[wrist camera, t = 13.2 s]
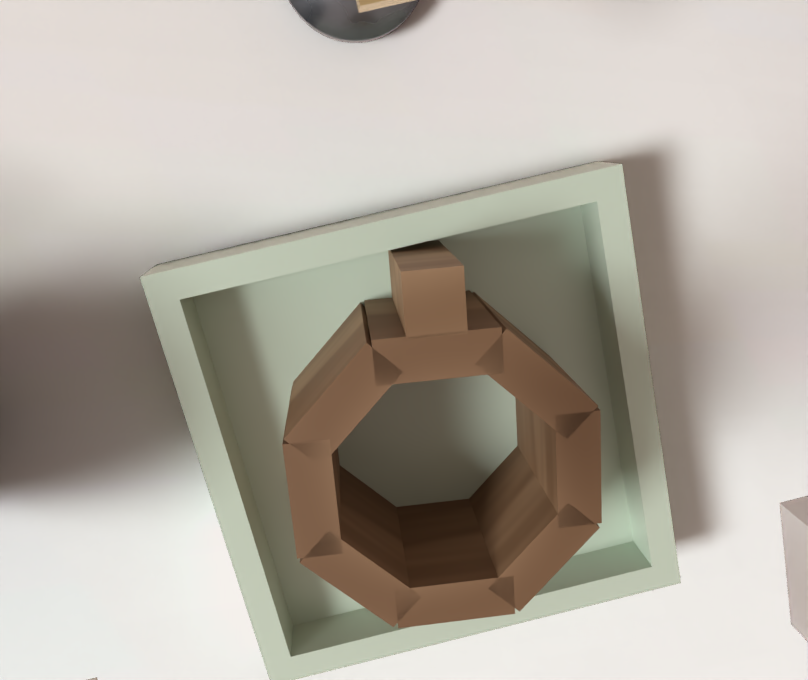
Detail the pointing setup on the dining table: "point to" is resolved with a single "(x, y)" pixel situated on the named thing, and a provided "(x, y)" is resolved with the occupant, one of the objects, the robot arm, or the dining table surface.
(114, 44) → the dining table surface
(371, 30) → the door handle
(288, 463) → the ring
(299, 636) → the tray
